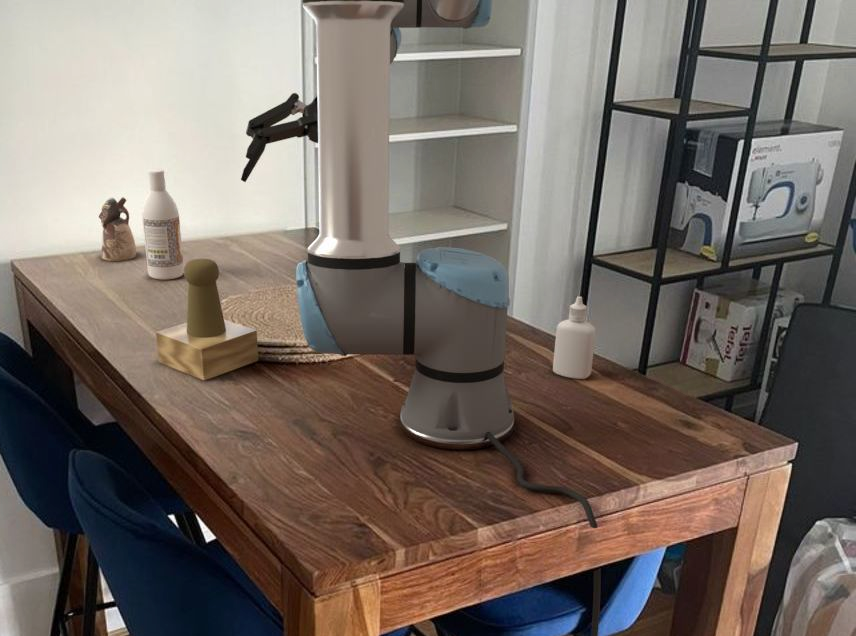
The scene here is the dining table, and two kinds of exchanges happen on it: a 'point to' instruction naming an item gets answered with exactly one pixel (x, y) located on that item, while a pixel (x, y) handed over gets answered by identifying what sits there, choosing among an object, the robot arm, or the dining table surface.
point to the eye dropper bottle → (574, 344)
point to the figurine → (116, 232)
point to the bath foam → (162, 230)
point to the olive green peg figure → (203, 299)
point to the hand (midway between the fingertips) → (285, 199)
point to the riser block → (207, 350)
